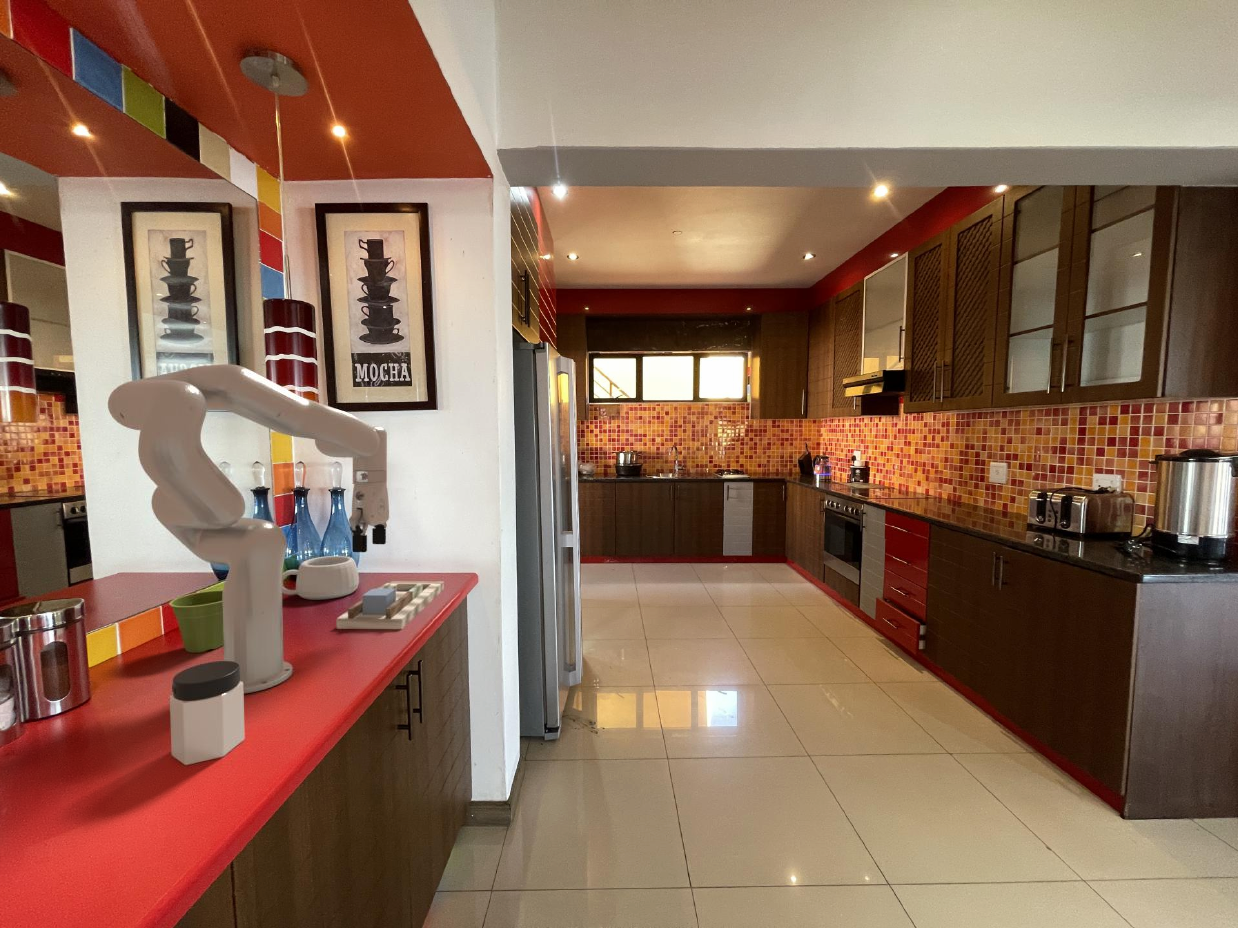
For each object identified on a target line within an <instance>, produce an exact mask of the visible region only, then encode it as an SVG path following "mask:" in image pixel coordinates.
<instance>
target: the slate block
mask: <svg viewBox="0 0 1238 928" xmlns="http://www.w3.org/2000/svg"><path fill="white" fill-rule="evenodd" d="M361 600H362V603H363V615H386V608H388V607H389V606H390V605H391V604H393V603H394V602H395V601H396V589H378V588H372V589H370V590H368V591H367V592H365V593H364V594H362V598H361Z"/></svg>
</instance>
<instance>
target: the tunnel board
mask: <svg viewBox="0 0 1238 928" xmlns="http://www.w3.org/2000/svg"><path fill="white" fill-rule="evenodd" d="M444 587H445V581H426V580H425V581H424V580H421V581H419V580H415V581H413V580H412V581H410V580H392V581H389V582H387V583H386V582H385V584H383V585H381V586H380V587H378V588H377V589H396V601H395V602H394V603H393V604H391V605H390V606H389V607H388V608H386V615H363V603H362V599H360V600H359V601H358V602H356V603H355V604H353V605H351V606H350V607H349V608H347V611H346V612H344V613H343V614H341V615H340V616H338V617H337V618H336V629H339V630H342V629H343V630H347V629H348V630H349V629H350V630H352V629H353V630H354V629H355V630H356V629H357V630H364V629H365V630H403V629H404V628H405V627H406V626H407V625H408V624H409V623H410V622H411V621H412V620H413V619H414V618H415V617H416V616H417V615H419V614H420V613H421V612H422V611H423V610H424V609H425V608H426V607H427V606H428V605H429V604H430V603H431V602H432V601H434V599H436V597H438V596H439V595H440V594H441V592H443V591H444V590H445V589H444Z"/></svg>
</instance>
